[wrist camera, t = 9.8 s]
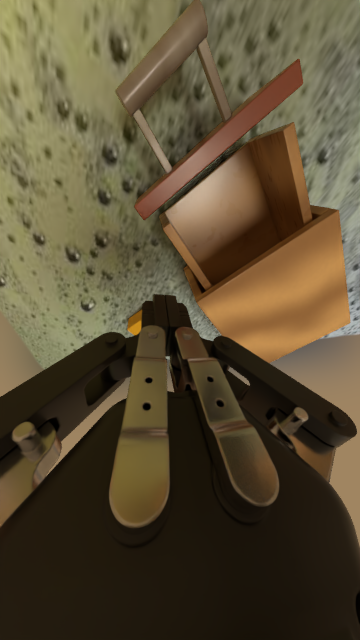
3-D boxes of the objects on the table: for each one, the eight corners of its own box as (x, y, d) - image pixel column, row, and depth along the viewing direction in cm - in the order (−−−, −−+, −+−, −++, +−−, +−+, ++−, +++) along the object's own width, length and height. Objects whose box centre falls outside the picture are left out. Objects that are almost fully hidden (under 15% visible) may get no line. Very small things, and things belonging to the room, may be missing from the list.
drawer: (95, 139, 17) (69, 120, 11) (220, 3, 14) (272, -124, 8) (204, 291, 28) (219, 321, 23) (287, 236, 25) (330, 254, 19)
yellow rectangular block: (157, 298, 29) (158, 309, 27) (168, 309, 31) (170, 321, 28) (124, 321, 31) (121, 334, 28) (135, 331, 32) (134, 344, 30)
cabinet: (183, 268, 27) (196, 302, 19) (278, 199, 23) (339, 209, 16) (229, 332, 36) (251, 372, 28) (304, 289, 32) (350, 322, 25)
